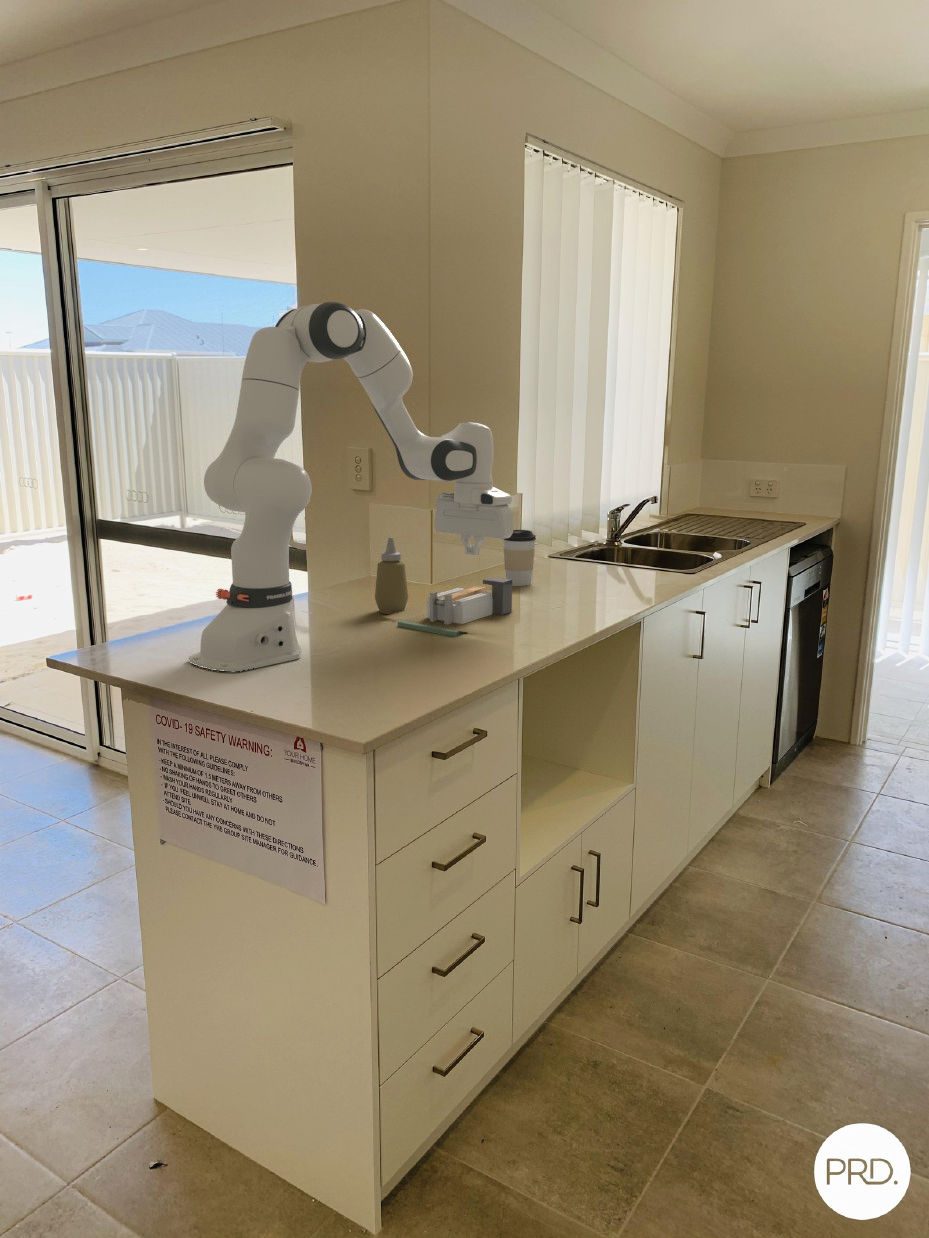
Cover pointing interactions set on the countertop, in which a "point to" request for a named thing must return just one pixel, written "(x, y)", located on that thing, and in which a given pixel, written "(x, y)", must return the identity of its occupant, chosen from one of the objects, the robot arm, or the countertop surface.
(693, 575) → the countertop surface
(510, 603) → the block
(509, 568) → the coffee cup
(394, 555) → the squeeze bottle
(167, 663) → the countertop surface
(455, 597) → the strap
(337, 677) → the countertop surface
